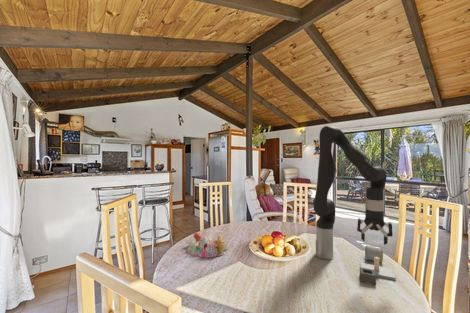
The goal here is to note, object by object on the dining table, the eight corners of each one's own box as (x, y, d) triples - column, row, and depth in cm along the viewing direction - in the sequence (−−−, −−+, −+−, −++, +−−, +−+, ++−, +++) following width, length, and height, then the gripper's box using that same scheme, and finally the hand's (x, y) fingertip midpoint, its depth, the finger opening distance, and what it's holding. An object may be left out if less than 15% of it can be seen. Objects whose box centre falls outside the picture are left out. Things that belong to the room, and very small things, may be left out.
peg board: (361, 273, 113) (361, 259, 112) (360, 264, 122) (360, 251, 122) (395, 280, 107) (395, 265, 107) (391, 270, 116) (391, 256, 116)
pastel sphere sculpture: (227, 242, 153) (227, 229, 153) (227, 258, 130) (227, 242, 130) (190, 243, 153) (190, 229, 153) (183, 259, 129) (183, 243, 129)
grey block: (360, 281, 106) (360, 273, 106) (359, 275, 111) (359, 267, 111) (375, 284, 103) (375, 276, 103) (373, 278, 109) (374, 269, 109)
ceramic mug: (383, 264, 122) (383, 250, 122) (365, 261, 125) (365, 247, 125) (380, 257, 131) (380, 243, 131) (364, 254, 135) (364, 241, 135)
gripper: (357, 208, 108) (356, 242, 108) (393, 212, 101) (393, 248, 101) (357, 205, 115) (357, 237, 115) (391, 208, 108) (391, 242, 108)
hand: (374, 242), depth 108 cm, fingers open, 8 cm apart
